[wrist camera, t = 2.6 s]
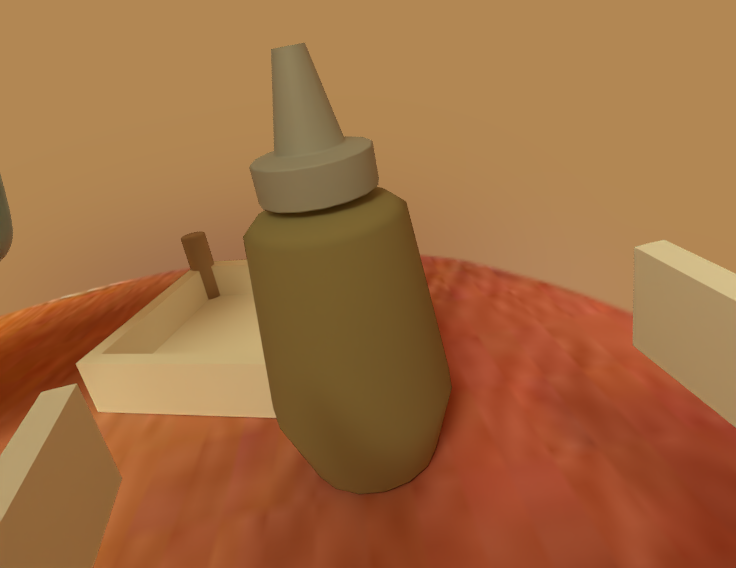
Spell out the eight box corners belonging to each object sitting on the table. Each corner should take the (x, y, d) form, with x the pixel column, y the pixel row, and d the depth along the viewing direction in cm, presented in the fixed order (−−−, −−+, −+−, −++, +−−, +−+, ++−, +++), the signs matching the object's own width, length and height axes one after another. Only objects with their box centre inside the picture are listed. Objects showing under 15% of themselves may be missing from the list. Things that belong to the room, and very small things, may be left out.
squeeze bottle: (397, 378, 32) (334, 34, 24) (497, 453, 25) (455, 15, 18) (266, 446, 28) (146, 72, 21) (343, 553, 22) (208, 65, 14)
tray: (96, 411, 34) (56, 326, 31) (211, 300, 46) (188, 232, 44) (313, 419, 30) (287, 321, 27) (377, 294, 42) (363, 218, 39)
